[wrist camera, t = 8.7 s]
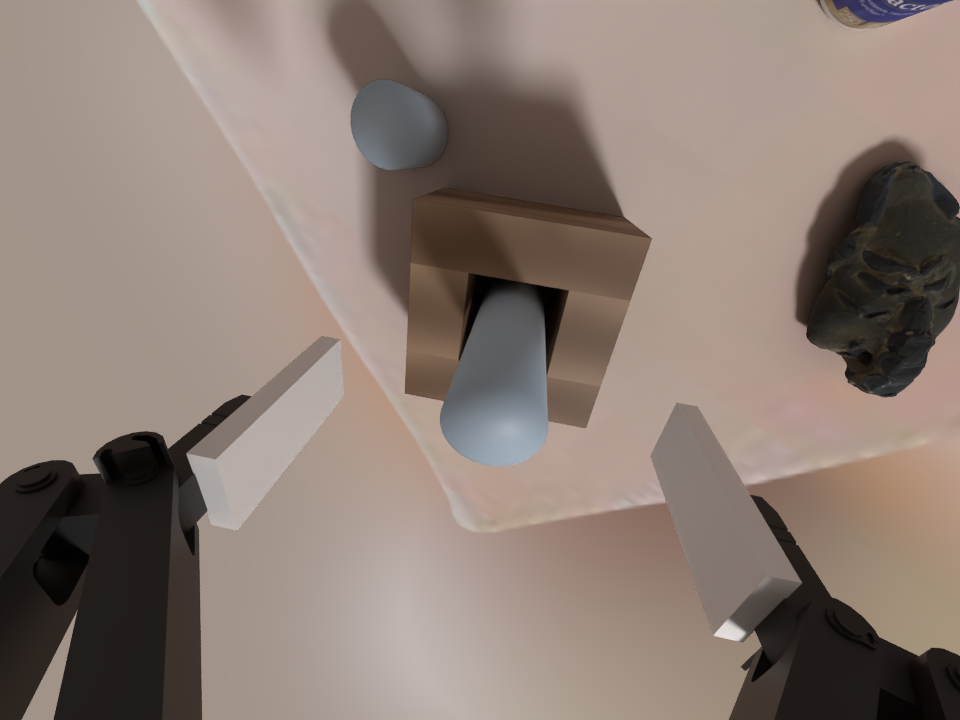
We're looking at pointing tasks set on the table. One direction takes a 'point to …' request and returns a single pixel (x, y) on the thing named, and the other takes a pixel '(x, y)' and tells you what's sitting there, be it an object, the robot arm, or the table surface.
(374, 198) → the table surface
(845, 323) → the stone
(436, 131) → the grey rounded cylinder
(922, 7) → the pill bottle
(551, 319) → the sleeve block
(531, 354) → the long dowel
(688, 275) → the table surface
